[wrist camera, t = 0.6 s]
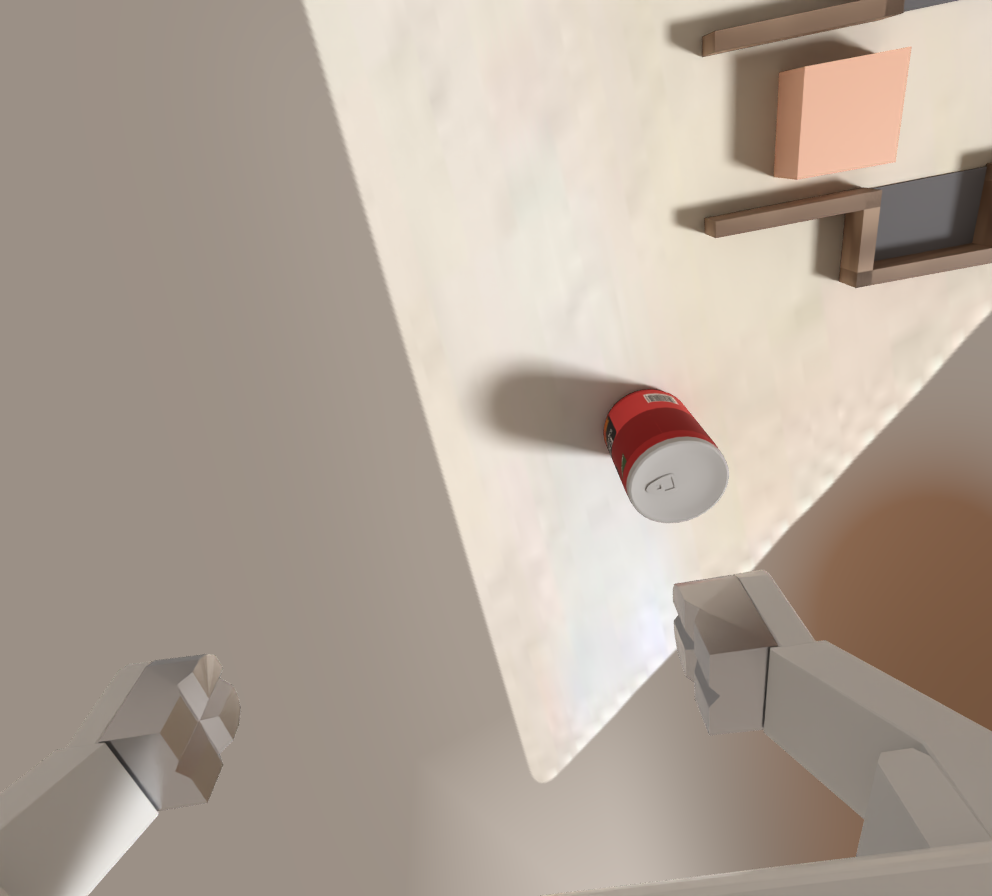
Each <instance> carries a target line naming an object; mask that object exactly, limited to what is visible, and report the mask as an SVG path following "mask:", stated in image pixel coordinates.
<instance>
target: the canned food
mask: <svg viewBox="0 0 992 896" xmlns="http://www.w3.org/2000/svg"><path fill="white" fill-rule="evenodd" d="M604 440H605V443H606V446H607V448H608V450H609V453H610V455H611V458H612V460H613V462H614V465H615V467H616V469H617V472H618V474H619V477H620V479H621V481H622V484H623V486H624V489H625V491H626V493H627V495H628V497H629V499H630V502H631V503H632V504H633V506H634V507H635V509H636V510H637V511H638V512H639V513H640V514H642V515H643V516H644V517H646V518H648V519H650V520H653V521H657V522H661V523H679V522H683V521H688V520H690V519H693V518H696V517H698V516H700V515H701V514H703V513H705V512H706V511H708V510H709V509H710V508H712V507H713V506H714V505H715V504H716V503H717V502H718V501H719V499H720V498H721V496H722V495H723V493H724V492H725V489H726V487H727V484H728V479H729V469H728V465H727V462H726V460H725V458H724V456H723V454H722V453H721V451H720V450H719V449H718V447H717V446H716V445H715V443H714V442H713V441H712V439H711V438H710V437H709V436H708V434H707V433H706V432H705V431H704V430H703V428H702V427H701V426H700V425H699V423H698V422H697V421H696V420H695V418H694V417H693V416H692V415H691V413H690V412H689V411H688V410H687V408H686V407H685V406H684V405H683V403H682V402H681V401H680V400H679V399H677V398H676V397H675V396H673V395H671V394H670V393H666V392H663V391H660V390H653V389H647V390H640V391H636V392H633V393H631V394H628V395H627V396H625V397H623V398H622V399H620V400H619V401H618V402H617V403H616V404H615V405H614V406H613V407H612V409H611V410H610V412H609V414H608V416H607V418H606V421H605V425H604Z"/></svg>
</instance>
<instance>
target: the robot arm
mask: <svg viewBox="0 0 992 896" xmlns="http://www.w3.org/2000/svg"><path fill="white" fill-rule="evenodd" d="M673 603H674V605H675V607H676V610H677V612H678V616H677V617H676V619H675V620H674V632H675V640H676V645H677V651H678V655H679V658H680V661H681V664H682V667H683V670H684V672H685V675H686V677H687V678H689V679H690V680H691V681H693V682H694V683H695V701H696V703H697V706H698V708H699V711H700V713H701V715H702V718H703V721H704V723H705V726H706V728H707V731H708V733H709V735H717V734H727V733H737V732H746V731H755V730H764V733H765V734H766V735H767V736H769V737H770V738H771V739H772V740H773V741H774V742H775V743H777V744H778V745H779V746H780V747H781V748H782V749H783V750H785V751H786V752H787V753H788V754H789V755H791V756H792V757H793V758H794V759H795V760H796V761H797V762H799V763H800V764H801V765H802V766H803V767H804V768H805V769H807V770H808V771H809V772H810V773H811V774H812V775H814V776H815V777H816V778H817V779H818V780H820V782H822V783H823V784H824V785H825V786H826V787H827V788H829V789H830V790H831V791H832V792H833V793H834V794H835V795H837V796H838V797H839V798H840V799H841V800H842V801H844V802H845V803H846V804H847V805H848V806H849V807H851V808H852V809H853V810H854V811H855V812H856V813H857V814H859V815H860V816H861V817H862V818H863V819H864V824H863V828H862V833H861V837H860V841H859V845H858V850H857V854H856V857H853V858H844V859H836V860H829V861H820V862H812V863H803V864H796V865H787V866H779V867H771V868H763V869H754V870H746V871H738V872H730V873H722V874H714V875H705V876H697V877H690V878H681V879H673V880H665V881H656V882H648V883H640V884H632V885H624V886H616V887H608V888H599V889H591V890H583V891H574V892H566V893H558V894H550V895H542V896H992V731H990V730H988V729H986V728H984V727H982V726H981V725H979V724H977V723H975V722H973V721H971V720H970V719H968V718H966V717H964V716H962V715H961V714H959V713H957V712H955V711H953V710H951V709H950V708H948V707H946V706H944V705H942V704H940V703H939V702H937V701H935V700H933V699H931V698H929V697H928V696H926V695H924V694H922V693H920V692H918V691H917V690H915V689H913V688H911V687H909V686H908V685H906V684H904V683H902V682H900V681H898V680H897V679H895V678H893V677H891V676H889V675H888V674H886V673H884V672H882V671H880V670H878V669H877V668H875V667H873V666H871V665H869V664H867V663H866V662H864V661H862V660H860V659H858V658H857V657H855V656H853V655H851V654H849V653H847V652H846V651H844V650H842V649H840V648H838V647H836V646H835V645H833V644H831V643H829V642H827V641H825V640H824V641H815V640H814V638H813V637H812V635H811V634H810V633H809V631H808V630H807V628H806V627H805V625H804V624H803V622H802V621H801V619H800V618H799V616H798V615H797V613H796V612H795V611H794V609H793V608H792V606H791V605H790V603H789V602H788V600H787V599H786V597H785V596H784V594H783V593H782V592H781V590H780V589H779V587H778V586H777V584H776V583H775V581H774V580H773V579H772V577H771V576H770V574H769V573H768V572H766V571H765V570H758V571H751V572H745V573H739V574H734V575H733V576H732V575H728V576H722V577H715V578H709V579H703V580H696V581H690V582H684V583H677V584H674V587H673ZM222 670H223V667H222V665H221V664H220V662H219V660H218V659H217V657H216V656H215V655H210V654H203V655H195V656H186V657H178V658H170V659H162V660H155V661H151V662H143V663H134V664H128V665H126V666H125V667H123V668H122V669H120V670H119V671H118V672H117V673H116V675H115V676H114V678H113V679H112V681H111V682H110V684H109V685H108V687H107V688H106V690H105V691H104V692H103V694H102V695H101V697H100V698H99V700H98V701H97V703H96V704H95V706H94V707H93V708H92V710H91V712H90V713H89V714H88V716H87V717H86V719H85V720H84V722H83V723H82V725H81V726H80V728H79V729H78V731H77V732H76V733H75V735H74V736H73V738H72V739H71V741H70V742H69V744H68V745H67V747H66V748H63V749H57V750H55V751H54V752H53V753H51V754H50V755H49V756H48V757H46V758H45V759H44V760H42V761H41V762H40V763H38V764H37V765H36V766H35V767H33V768H32V769H31V770H29V771H28V772H27V773H26V774H24V775H23V776H22V777H20V778H19V779H18V780H16V781H15V782H14V783H13V784H11V785H10V786H9V787H8V788H6V789H5V790H4V791H2V792H1V793H0V896H88V895H89V894H90V892H91V891H92V890H93V889H94V888H95V887H96V885H97V884H98V883H99V882H100V881H101V879H103V877H104V876H105V875H106V874H107V873H108V872H109V871H110V869H111V868H112V867H113V866H114V865H115V864H116V863H117V861H118V860H119V859H120V858H121V857H122V856H123V855H124V853H125V852H126V851H127V850H128V849H129V848H130V847H131V845H132V844H133V843H134V842H135V841H136V840H137V839H138V837H139V836H140V835H141V834H142V833H143V832H144V831H145V829H146V828H147V827H148V826H149V825H150V824H151V822H152V821H153V820H154V819H155V818H156V817H157V816H158V815H159V813H158V811H162V810H168V809H173V808H174V809H175V808H180V807H187V806H193V805H199V804H205V803H208V801H209V798H210V796H211V794H212V791H213V789H214V786H215V784H216V782H217V779H218V777H219V774H220V772H221V769H222V767H223V762H222V759H221V756H220V753H221V752H222V751H223V750H224V749H225V748H226V747H227V746H228V745H229V744H230V743H231V742H232V741H233V740H234V737H235V734H236V732H237V729H238V726H239V721H240V709H241V706H240V702H239V697H238V694H237V692H236V690H235V688H234V686H233V685H232V684H230V683H228V682H226V681H225V680H223V679H221V678H220V676H221V672H222Z"/></svg>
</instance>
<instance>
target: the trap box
mask: <svg viewBox="0 0 992 896" xmlns="http://www.w3.org/2000/svg"><path fill="white" fill-rule="evenodd" d="M952 1H957V0H860V1H855V2H850V3H846V4H841V5H836V6H831V7H827V8H822V9H817V10H812V11H808V12H803V13H798V14H793V15H789V16H784V17H779V18H775V19H770V20H765V21H760V22H756V23H751V24H746V25H741V26H737V27H732V28H727V29H722V30H718V31H714V32H712V33H710V34H708V35H706V36H703V37H702V55H703V57H705V56H710V55H715V54H720V53H724V52H729V51H734V50H739V49H743V48H748V47H753V46H758V45H763V44H767V43H772V42H777V41H782V40H787V39H791V38H796V37H801V36H806V35H811V34H815V33H820V32H825V31H830V30H834V29H839V28H844V27H849V26H854V25H858V24H863V23H868V22H873V21H878V20H882V19H885V18H888V17H892V16H895V15H898V14H901V13H903V12H905V11H909V10H914V9H919V8H924V7H929V6H933V5H938V4H943V3H948V2H952ZM839 214H845V222H844V233H843V244H842V255H841V265H840V276H839V282H842V283H845V284H847V285H850V286H852V287H855V288H858V287H863V286H869V285H874V284H880V283H885V282H891V281H896V280H902V279H907V278H912V277H918V276H923V275H929V274H934V273H940V272H945V271H951V270H956V269H962V268H967V267H972V266H978V265H983V264H989V263H992V163H988V164H986V167H981V168H976V169H971V170H965V171H960V172H955V173H950V174H945V175H939V176H934V177H929V178H924V179H919V180H914V181H908V182H903V183H898V184H893V185H888V186H882V187H877V188H872V189H871V188H858V189H853V190H848V191H843V192H837V193H832V194H827V195H822V196H817V197H812V198H806V199H801V200H796V201H791V202H786V203H780V204H775V205H770V206H765V207H760V208H755V209H749V210H744V211H739V212H734V213H729V214H723V215H718V216H713V217H708V218H705V234H707V235H709V236H712V237H714V238H719V237H724V236H729V235H735V234H740V233H745V232H750V231H756V230H761V229H766V228H771V227H776V226H782V225H787V224H792V223H797V222H803V221H808V220H813V219H818V218H824V217H829V216H834V215H839Z"/></svg>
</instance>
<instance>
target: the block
mask: <svg viewBox="0 0 992 896" xmlns="http://www.w3.org/2000/svg"><path fill="white" fill-rule="evenodd" d="M910 54H911V47H906V48H901V49H896V50H890V51H885V52H880V53H874V54H869V55H864V56H858V57H853V58H848V59H842V60H837V61H832V62H826V63H821V64H816V65H810V66H805V67H801V68H797V69H792V70H788V71H784V72H780V73H779V86H778V105H777V124H776V143H775V162H774V177H778V178H787V179H796V180H798V179H804V178H809V177H815V176H820V175H826V174H832V173H837V172H843V171H848V170H854V169H860V168H865V167H871V166H876V165H882V164H888V163H893V162H896V154H897V147H898V140H899V133H900V126H901V119H902V111H903V104H904V97H905V90H906V83H907V76H908V68H909V61H910Z"/></svg>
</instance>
